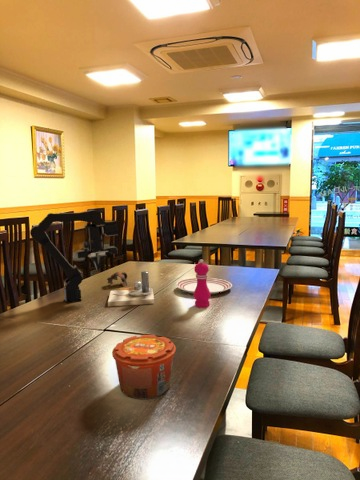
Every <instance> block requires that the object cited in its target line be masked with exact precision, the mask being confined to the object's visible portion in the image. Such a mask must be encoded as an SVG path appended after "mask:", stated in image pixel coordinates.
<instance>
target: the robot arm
mask: <svg viewBox="0 0 360 480" xmlns="http://www.w3.org/2000/svg"><path fill="white" fill-rule="evenodd" d="M58 222H59V223H61V222H62V223H63V222H85V223H86V224H85V225H83V228H84V229H88V236H89V237H88V238H89V239H88V241H83V242H82V247H83V249H78V250H75V251H74V256H75V257H76V258H77V259H82V258H83V259H85V258H86V257H87V258H89V259H91V260H92V262H93V264H94V266H95V269H96V271H100V269H101V266H102V263H103V260H104V258H106V257H107V254H106V253H110V254H111V255H114V254H115V255H116V254H119V252H118V251H119V249H118V248H117V246H114V245H111V246H106V247H105V248H104V247H103V246H104V245H103V242H104V239H103V235H105V237H111V236H119V227H118V223H117V220H112V221H105V220H104V218H102V213H101V212H100V211H98V210H96V209H90V210H89V209H88V210H85V211H79V212H64V213H63V212H61V213H60V212H59V213H57V212H56V213H53V212H49V213H48V214H47V215H46V216H45V217H44V218H43V219H42V220H41V221H40V222H39V223H38V224H35V225H33V226H32V227H31V228H30V234H29V235H30V236H31V238H32V239H33V240H35V242H37V243H38V244H39V245H41V246H42V247H44V249H45V250H46V251H47V252H48V253H49V255H50V256H51V257H52V258H53V259H54V261H55V262H56V263H57V264H58V265H59V266H60V268H61V269H62V270H63V272H64V273H65V276H66V277H67V278H66V279H65V280H64V281H63V284H64V287H63V292H64V294H63V295H64V298H63V301H64V300H65V301H66V302H67V303H66V302H65V301H64V302H65V303H66V304H69V303H68V302H71V303H76V302H75V301H77V302H81V301H82V293H81V292H82V290H81V289H80V286H79V285H81V283H82V282H83V276H82V275H83V273H82V270H80V269H79V268H78V266H77V265H76V264H74V265H72V264H70V263H69V261H68V259H66V257H65V256H63V255H64V254H62V253H61V252H60V251H59V249H58V248H57V247H56V246H55V244H54V243H53V242H52V241H51V240H50V237H49V235H48V234H47V232H46V231H47V230H48V229H49V228H50V226H52V224H53V223H58ZM97 223H98V224H97ZM99 224H100V225H99Z"/></svg>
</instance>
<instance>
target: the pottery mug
mask: <svg viewBox="0 0 360 480" xmlns="http://www.w3.org/2000/svg"><path fill="white" fill-rule="evenodd" d="M119 279H121V285H122V288H126V286H127V285H128V283H127V279H128V274H127V272H124V271H123V272H121V273H120V272H119V271H116V272H115V273H113V274H111V275H110V276H109V277H107V278H106V280H107V284H110V285H111V284H112V285H113V283H114V281H118V280H119ZM113 280H114V281H113Z"/></svg>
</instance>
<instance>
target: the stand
mask: <svg viewBox="0 0 360 480" xmlns="http://www.w3.org/2000/svg"><path fill="white" fill-rule="evenodd" d="M149 288H150V287H149ZM153 290H154V289H153V288H150V294H149V295H146V296H139V297H136V296H130V295H129V289H124V290H119V289H118V290H116V289H115V290H110V292H109V297H108V300H107V307H119V306H135V305H136V306H137V305H151V304H153V305H154V304H155V298H154V297H155V296H154V291H153Z"/></svg>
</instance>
